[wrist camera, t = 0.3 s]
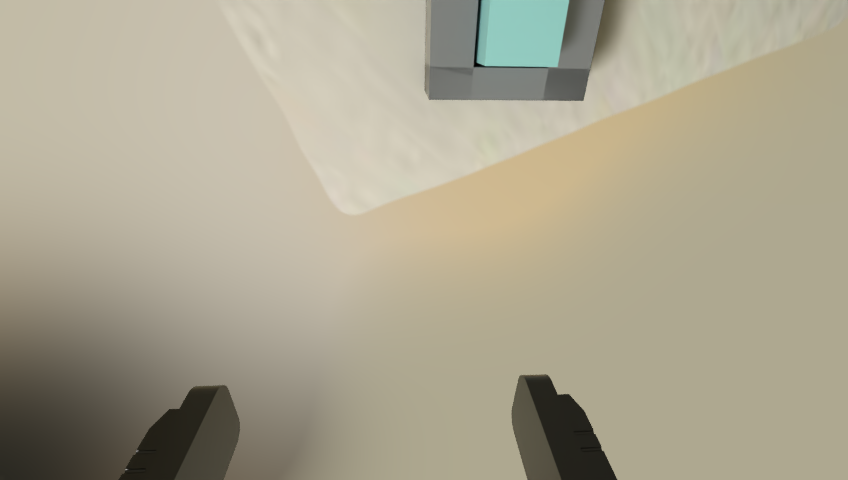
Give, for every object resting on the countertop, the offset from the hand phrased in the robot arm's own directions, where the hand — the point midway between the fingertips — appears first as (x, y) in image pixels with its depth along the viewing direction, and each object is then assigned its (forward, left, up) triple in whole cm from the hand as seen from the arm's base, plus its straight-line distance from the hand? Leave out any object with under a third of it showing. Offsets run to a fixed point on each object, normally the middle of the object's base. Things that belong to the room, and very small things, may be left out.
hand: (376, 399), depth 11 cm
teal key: (-9, +9, -25) cm, 28 cm away
